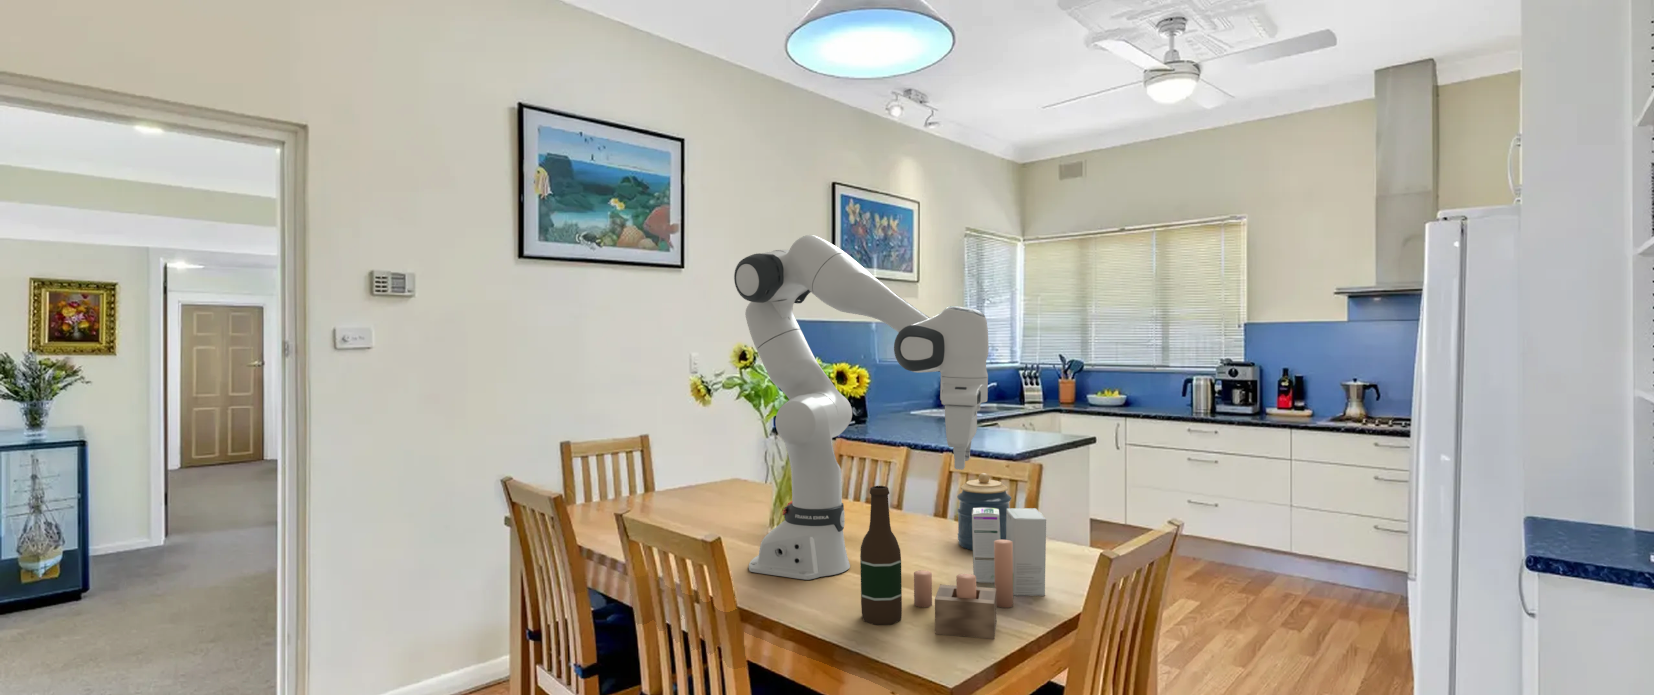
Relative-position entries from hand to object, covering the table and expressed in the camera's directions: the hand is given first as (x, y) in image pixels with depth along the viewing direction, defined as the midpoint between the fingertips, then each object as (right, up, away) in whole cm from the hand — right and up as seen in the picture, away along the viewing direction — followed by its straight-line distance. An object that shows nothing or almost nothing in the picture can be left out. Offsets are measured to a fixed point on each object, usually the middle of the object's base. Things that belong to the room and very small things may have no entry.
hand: (962, 464), depth 145 cm
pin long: (+8, -27, 0) cm, 28 cm away
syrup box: (+8, -27, +16) cm, 32 cm away
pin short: (-7, -27, +1) cm, 28 cm away
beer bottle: (-16, -27, -6) cm, 32 cm away
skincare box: (+14, -27, +9) cm, 32 cm away
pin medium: (-1, -27, -11) cm, 29 cm away
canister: (+13, -26, +41) cm, 50 cm away
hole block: (-1, -27, -11) cm, 29 cm away
